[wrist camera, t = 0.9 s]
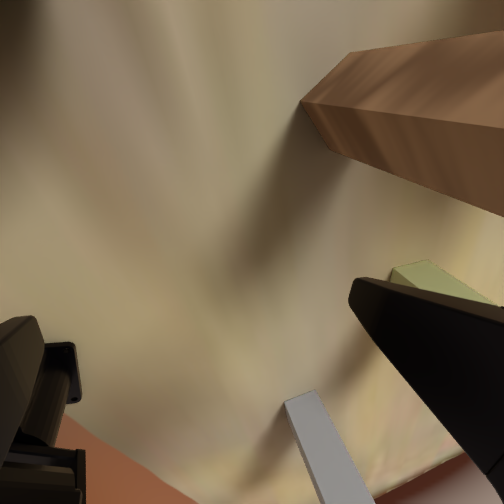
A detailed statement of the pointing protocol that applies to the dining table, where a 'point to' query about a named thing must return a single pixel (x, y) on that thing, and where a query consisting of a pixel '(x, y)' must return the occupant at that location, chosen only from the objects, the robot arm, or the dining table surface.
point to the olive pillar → (434, 281)
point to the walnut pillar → (422, 114)
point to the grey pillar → (325, 452)
